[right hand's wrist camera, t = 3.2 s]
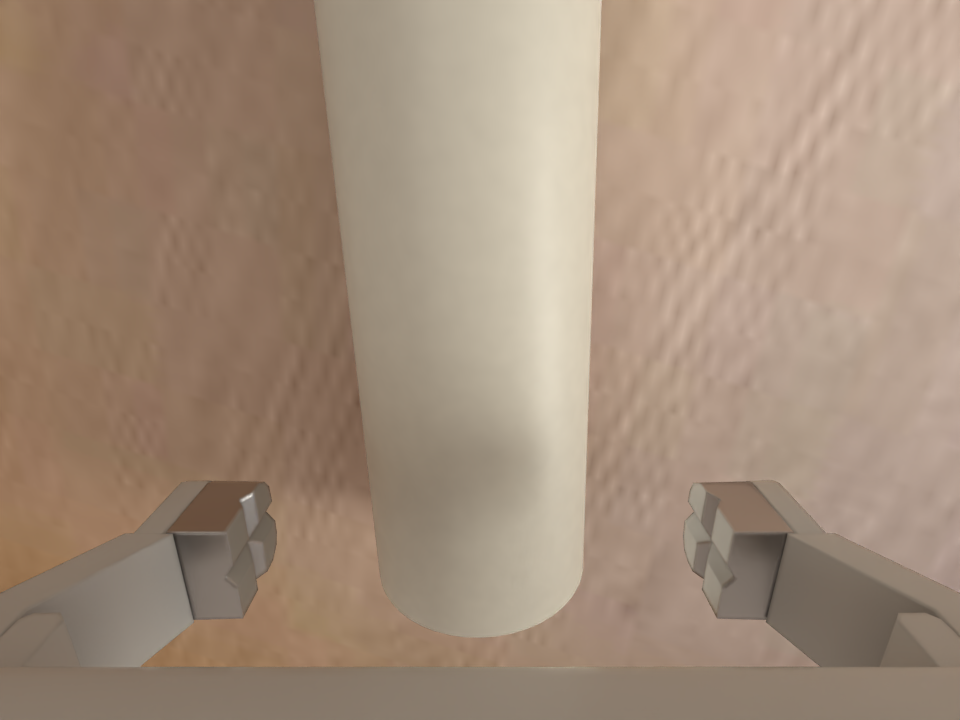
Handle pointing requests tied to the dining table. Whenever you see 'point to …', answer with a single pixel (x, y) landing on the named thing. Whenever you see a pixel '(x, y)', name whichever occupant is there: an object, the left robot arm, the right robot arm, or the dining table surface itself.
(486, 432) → the rod
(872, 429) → the dining table surface
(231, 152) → the dining table surface
